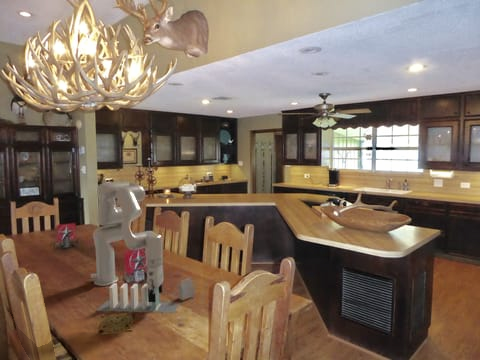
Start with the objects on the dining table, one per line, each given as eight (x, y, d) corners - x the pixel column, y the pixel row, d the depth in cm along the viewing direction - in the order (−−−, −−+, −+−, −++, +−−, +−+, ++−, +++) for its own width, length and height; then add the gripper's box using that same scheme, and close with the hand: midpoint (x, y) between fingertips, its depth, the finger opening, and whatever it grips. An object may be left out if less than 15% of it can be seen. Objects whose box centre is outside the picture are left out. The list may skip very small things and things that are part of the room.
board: (96, 312, 151) (96, 310, 151) (106, 302, 161) (106, 300, 161) (174, 314, 149) (174, 312, 149) (179, 304, 159) (179, 302, 159)
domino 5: (152, 309, 152) (151, 288, 151) (155, 304, 157) (155, 283, 156) (155, 309, 152) (155, 288, 151) (159, 304, 157) (158, 283, 156)
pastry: (87, 329, 139) (87, 322, 139) (122, 312, 153) (122, 305, 153) (113, 342, 129) (112, 334, 129) (148, 322, 143) (148, 316, 143)
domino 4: (141, 309, 153) (141, 288, 152) (145, 304, 158) (144, 283, 157) (145, 309, 152) (144, 288, 152) (148, 304, 157) (148, 283, 157)
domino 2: (120, 308, 153) (119, 287, 152) (124, 303, 158) (124, 283, 157) (123, 308, 153) (123, 287, 152) (128, 303, 158) (127, 283, 157)
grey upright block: (194, 298, 166) (193, 278, 165) (182, 302, 161) (182, 282, 160) (190, 295, 169) (189, 276, 168) (178, 299, 164) (178, 280, 163)
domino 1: (110, 308, 154) (109, 287, 153) (114, 303, 159) (113, 283, 158) (113, 308, 153) (112, 287, 152) (118, 303, 158) (117, 283, 157)
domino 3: (131, 308, 153) (130, 288, 152) (135, 303, 158) (134, 283, 157) (134, 309, 153) (133, 288, 152) (138, 303, 158) (137, 283, 157)
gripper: (156, 268, 144) (157, 306, 145) (167, 255, 161) (168, 289, 163) (139, 267, 144) (140, 305, 146) (152, 255, 161) (153, 289, 163)
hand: (155, 297), depth 154 cm, fingers open, 9 cm apart
